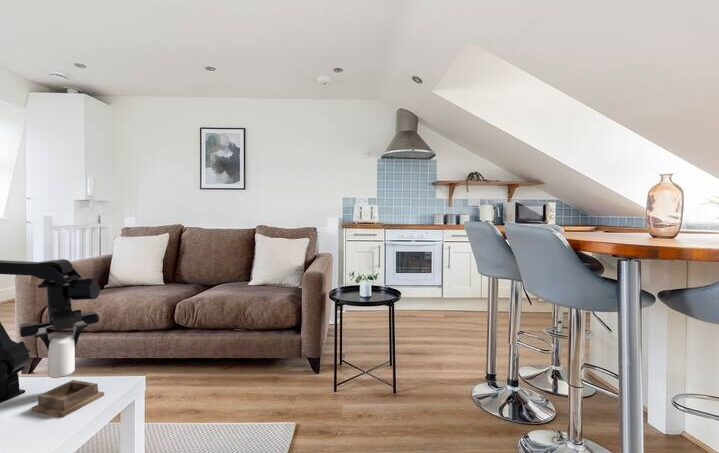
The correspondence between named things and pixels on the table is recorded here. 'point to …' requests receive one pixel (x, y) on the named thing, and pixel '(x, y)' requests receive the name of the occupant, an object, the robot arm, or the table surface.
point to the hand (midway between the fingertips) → (62, 350)
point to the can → (61, 355)
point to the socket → (67, 398)
